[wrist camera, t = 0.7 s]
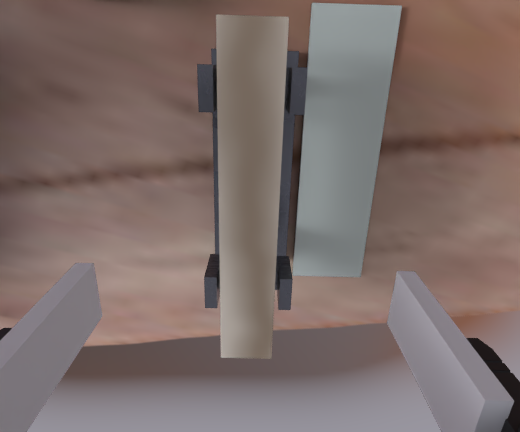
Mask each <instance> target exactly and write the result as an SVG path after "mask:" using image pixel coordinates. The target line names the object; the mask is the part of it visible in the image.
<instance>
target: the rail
mask: <svg viewBox="0 0 520 432" xmlns="http://www.w3.org/2000/svg"><path fill="white" fill-rule="evenodd" d="M288 26H289V17H276V16H245V15H216V50H217V119H218V187H219V256H220V325H221V358H264V359H271V354H272V334H273V316H274V296H275V277H276V258H277V238H278V219H279V200H280V180H281V161H282V142H283V122H284V103H285V84H286V64H287V45H288Z"/></svg>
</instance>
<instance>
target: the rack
mask: <svg viewBox="0 0 520 432" xmlns="http://www.w3.org/2000/svg"><path fill="white" fill-rule="evenodd" d="M211 53H212V65H206V64H197V72H198V103H199V112H213V157H214V208H215V254H210V258H209V262H208V265H207V269H206V273H205V276H204V284H205V308H217V306H218V301H219V295H220V256H219V187H218V119H217V50H216V49H211ZM298 58H299V51H287V64H286V84H285V103H284V122H283V142H282V161H281V180H280V200H279V219H278V238H277V258H276V277H275V290H277V296H278V309H279V310H290V307H291V293H292V280H293V279H292V273H291V267H290V260H289V256H286V249H287V234H288V218H289V202H290V186H291V170H292V154H293V138H294V122H295V115H304V113H305V99H306V85H307V72H308V68H302V67H298Z"/></svg>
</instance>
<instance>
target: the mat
mask: <svg viewBox="0 0 520 432" xmlns="http://www.w3.org/2000/svg"><path fill="white" fill-rule="evenodd" d="M401 9H402V6H394V5H364V4H334V3H312V6H311V20H310V34H309V48H308V62H307V68H308V72H307V85H306V99H305V113H304V118H303V132H302V146H301V160H300V174H299V188H298V202H297V216H296V230H295V244H294V258H293V272H292V273H293V276H329V277H361V271H362V265H363V258H364V251H365V245H366V238H367V232H368V225H369V219H370V212H371V206H372V199H373V193H374V186H375V179H376V173H377V166H378V160H379V153H380V147H381V140H382V134H383V127H384V121H385V114H386V108H387V101H388V94H389V88H390V81H391V75H392V68H393V62H394V55H395V49H396V42H397V36H398V29H399V22H400V16H401Z"/></svg>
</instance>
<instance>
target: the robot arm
mask: <svg viewBox="0 0 520 432" xmlns="http://www.w3.org/2000/svg"><path fill="white" fill-rule="evenodd" d="M101 317H102V311H101V305H100V299H99V293H98V287H97V280H96V274H95V268H94V263H75V264H74V265H73V266H72V267H71V268H70V269H69V271H68V272H67V273H66V274H65V275H64V276H63V277H62V278H61V279H60V280H59V281H58V282H57V283H56V284H55V285H54V286H53V287H52V288H51V289H50V290H49V291H48V292H47V293H46V294H45V295H44V296H43V297H42V298H41V299H40V300H39V301H38V302H37V303H36V304H35V305H34V306H33V307H32V308H31V309H30V311H29V312H28V313H27V314H26V315H25V316H24V317H23V318H22V319H21V320H20V321H19V322H18V323H17V324H16V325H15V326H14V327H13V328H3V329H1V330H0V432H27V431H28V429H29V428H30V426H31V424H32V423H33V422H34V420H35V418H36V417H37V415H38V414H39V412H40V411H41V409H42V408H43V406H44V405H45V403H46V402H47V400H48V399H49V397H50V395H51V394H52V392H53V391H54V389H55V388H56V386H57V385H58V383H59V381H60V380H61V379H62V377H63V376H64V374H65V372H66V371H67V369H68V368H69V366H70V365H71V363H72V362H73V360H74V359H75V357H76V356H77V354H78V353H79V351H80V350H81V348H82V347H83V345H84V343H85V342H86V340H87V339H88V337H89V336H90V334H91V333H92V331H93V330H94V328H95V327H96V325H97V324H98V322H99V321H100V319H101ZM387 324H388V326H389V328H390V330H391V332H392V334H393V336H394V337H395V340H396V342H397V344H398V346H399V348H400V350H401V352H402V354H403V356H404V358H405V360H406V362H407V364H408V366H409V368H410V370H411V372H412V374H413V376H414V378H415V380H416V382H417V384H418V385H419V387H420V390H421V392H422V394H423V396H424V397H425V400H426V402H427V404H428V406H429V408H430V410H431V411H432V414H433V416H434V417H435V420H436V422H437V424H438V426H439V428H440V430H441V431H442V432H520V382H519V380H518V379H517V378H516V377H515V376H514V374H513V373H510V370H509V369H508V367H507V366H506V365H505V364H504V363H502V360H501V359H500V358H499V357H498V355H497V354H496V353H495V352H494V351H493V349H492V348H490V347H489V346H488V345H486V344H484V343H483V342H482V341H481V340H479V339H478V338H466V337H465V336H464V335H463V334H462V332H461V331H460V330H459V329H458V327H457V326H456V325H455V323H454V322H453V321H452V319H451V318H450V317H449V315H448V314H447V313H446V311H445V310H444V309H443V308H442V306H441V305H440V304H439V302H438V301H437V300H436V298H435V297H434V296H433V295H432V293H431V292H430V291H429V289H428V288H427V287H426V285H425V284H424V283H423V282H422V280H421V279H420V278H419V276H418V275H417V274H416V272H415V271H397V274H396V279H395V284H394V290H393V295H392V300H391V305H390V311H389V316H388V321H387Z"/></svg>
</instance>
